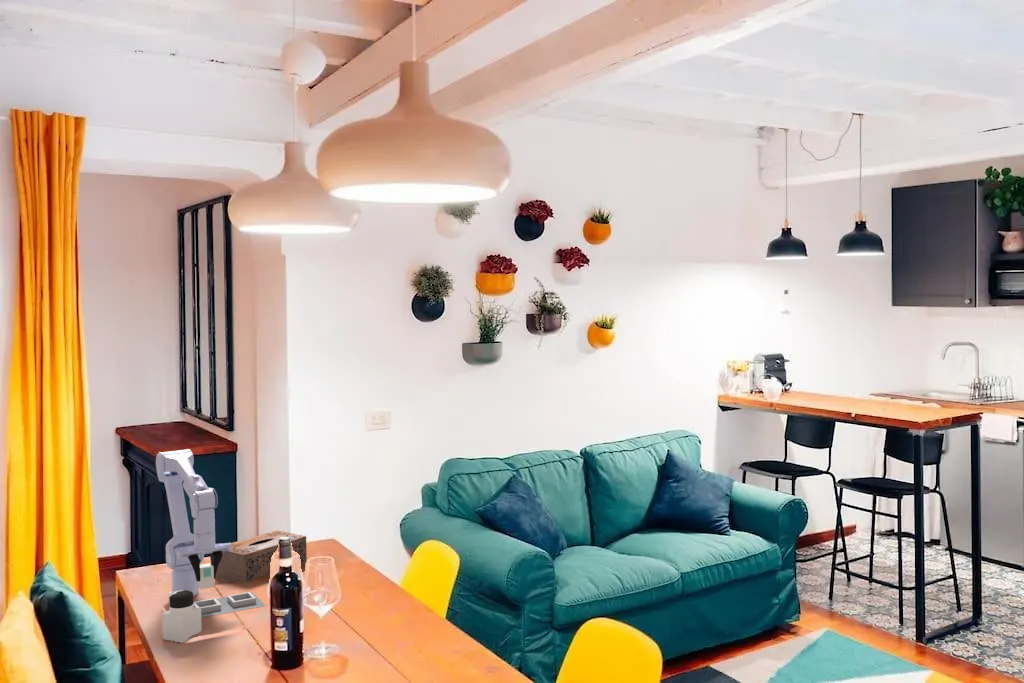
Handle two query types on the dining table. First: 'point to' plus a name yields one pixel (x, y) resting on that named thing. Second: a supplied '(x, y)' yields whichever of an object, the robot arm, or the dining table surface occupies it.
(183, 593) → the medicine bottle
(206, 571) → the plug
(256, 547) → the tissue box cover
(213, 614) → the grey flat plate
